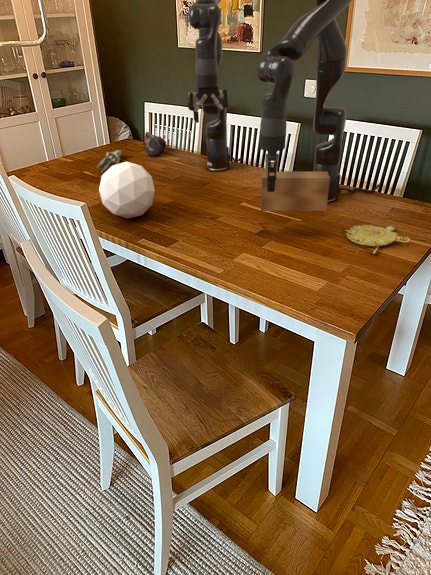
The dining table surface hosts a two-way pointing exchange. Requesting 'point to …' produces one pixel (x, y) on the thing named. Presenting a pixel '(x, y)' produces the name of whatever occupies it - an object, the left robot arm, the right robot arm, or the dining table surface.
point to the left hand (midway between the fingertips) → (208, 121)
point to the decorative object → (374, 235)
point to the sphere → (127, 190)
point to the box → (296, 191)
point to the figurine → (110, 160)
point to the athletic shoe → (154, 144)
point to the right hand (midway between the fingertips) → (270, 187)
